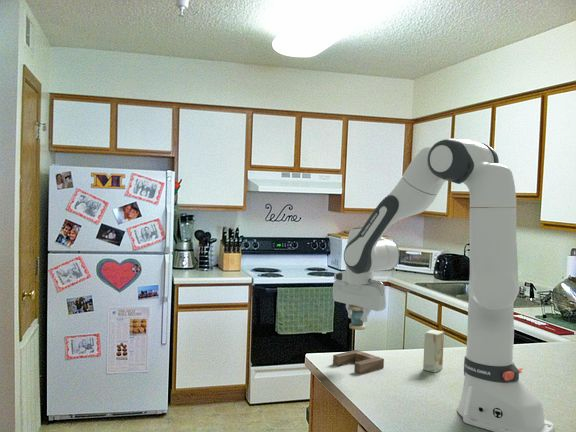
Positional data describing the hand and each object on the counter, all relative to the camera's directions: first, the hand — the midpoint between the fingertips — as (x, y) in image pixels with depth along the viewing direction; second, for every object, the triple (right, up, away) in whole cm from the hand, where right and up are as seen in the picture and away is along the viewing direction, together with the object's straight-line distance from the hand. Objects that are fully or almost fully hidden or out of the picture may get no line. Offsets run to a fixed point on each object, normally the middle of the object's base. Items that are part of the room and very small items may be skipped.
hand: (357, 319), depth 170 cm
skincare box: (+24, -16, 0) cm, 29 cm away
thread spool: (0, -3, 0) cm, 3 cm away
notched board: (0, -15, +1) cm, 15 cm away
